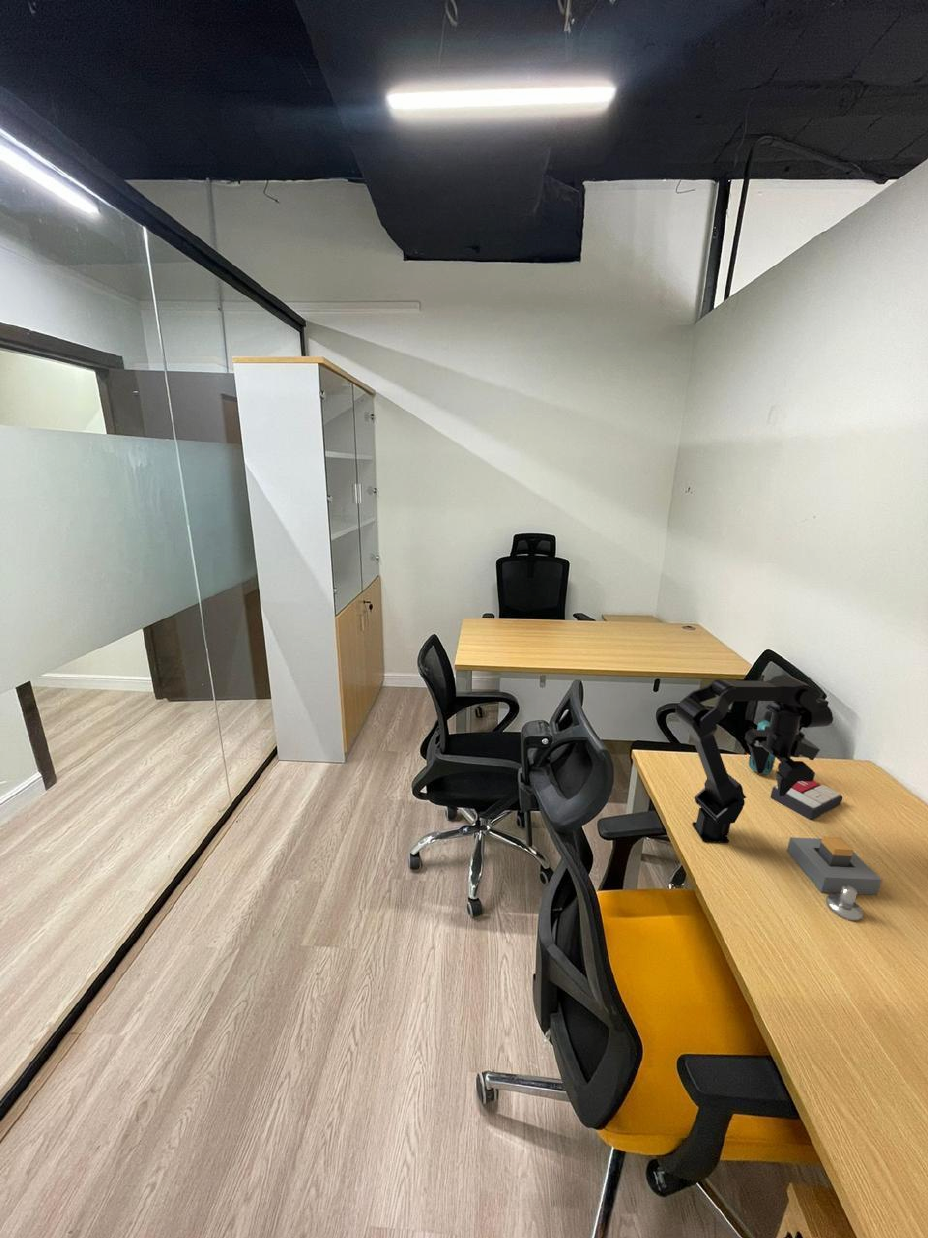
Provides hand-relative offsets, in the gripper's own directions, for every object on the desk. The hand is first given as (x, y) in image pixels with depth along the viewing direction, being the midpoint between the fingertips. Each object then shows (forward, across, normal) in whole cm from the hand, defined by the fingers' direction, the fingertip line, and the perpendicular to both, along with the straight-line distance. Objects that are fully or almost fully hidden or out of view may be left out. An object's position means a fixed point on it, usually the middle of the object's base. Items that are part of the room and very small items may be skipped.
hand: (770, 784), depth 120 cm
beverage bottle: (+13, +25, -14) cm, 32 cm away
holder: (+13, -14, -8) cm, 21 cm away
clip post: (+13, -24, -4) cm, 28 cm away
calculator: (+14, +12, -19) cm, 27 cm away
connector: (+13, -14, -8) cm, 21 cm away
